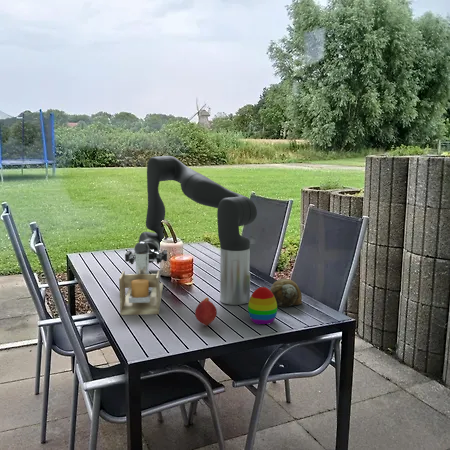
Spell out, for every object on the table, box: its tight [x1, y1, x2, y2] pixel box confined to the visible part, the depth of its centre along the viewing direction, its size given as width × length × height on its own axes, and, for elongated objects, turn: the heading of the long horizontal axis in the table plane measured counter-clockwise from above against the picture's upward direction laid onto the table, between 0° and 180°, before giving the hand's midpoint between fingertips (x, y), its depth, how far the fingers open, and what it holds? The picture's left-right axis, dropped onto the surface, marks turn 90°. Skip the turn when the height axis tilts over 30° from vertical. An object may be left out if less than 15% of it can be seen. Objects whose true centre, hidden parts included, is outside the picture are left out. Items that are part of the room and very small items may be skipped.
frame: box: [118, 270, 164, 316], centre depth 145 cm, size 11×26×11 cm, turn 5°
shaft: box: [129, 241, 153, 303], centre depth 138 cm, size 6×13×16 cm, turn 5°
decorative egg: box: [247, 286, 278, 325], centre depth 128 cm, size 8×8×10 cm
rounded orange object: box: [131, 279, 149, 297], centre depth 135 cm, size 5×5×4 cm
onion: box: [194, 297, 217, 327], centre depth 125 cm, size 6×6×8 cm
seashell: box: [269, 277, 303, 308], centre depth 143 cm, size 11×9×8 cm
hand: (144, 261), depth 151 cm, fingers open, 8 cm apart
